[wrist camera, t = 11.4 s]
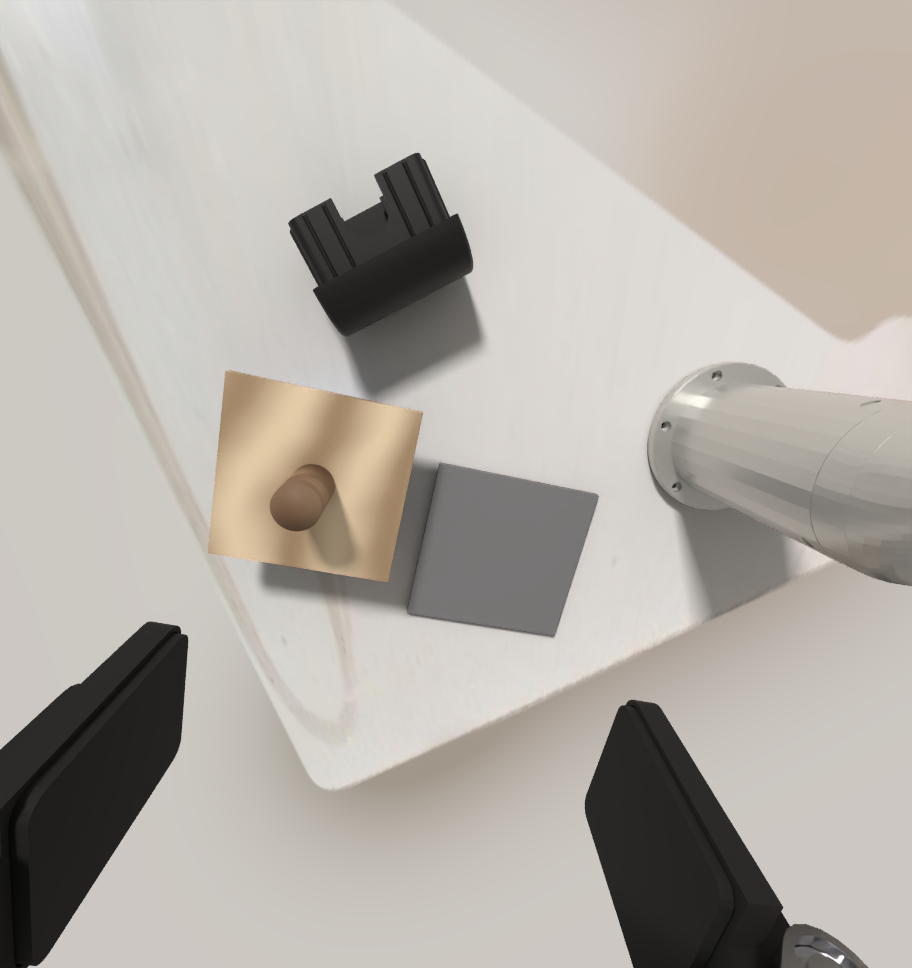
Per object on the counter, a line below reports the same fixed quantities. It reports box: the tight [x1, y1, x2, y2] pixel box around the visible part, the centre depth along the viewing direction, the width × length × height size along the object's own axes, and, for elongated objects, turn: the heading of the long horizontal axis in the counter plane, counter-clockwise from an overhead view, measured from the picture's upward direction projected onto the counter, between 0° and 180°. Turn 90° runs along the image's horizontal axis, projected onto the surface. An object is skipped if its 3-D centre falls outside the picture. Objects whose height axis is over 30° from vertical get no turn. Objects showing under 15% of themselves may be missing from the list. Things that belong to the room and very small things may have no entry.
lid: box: [208, 371, 423, 582], centre depth 31 cm, size 13×13×6 cm
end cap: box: [288, 153, 473, 336], centre depth 32 cm, size 10×7×7 cm
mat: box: [407, 463, 599, 636], centre depth 42 cm, size 14×14×1 cm
